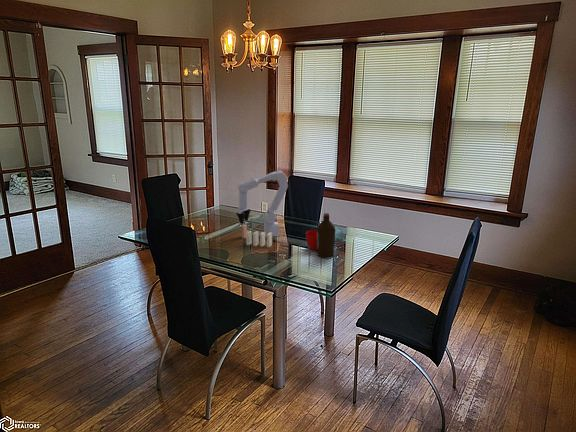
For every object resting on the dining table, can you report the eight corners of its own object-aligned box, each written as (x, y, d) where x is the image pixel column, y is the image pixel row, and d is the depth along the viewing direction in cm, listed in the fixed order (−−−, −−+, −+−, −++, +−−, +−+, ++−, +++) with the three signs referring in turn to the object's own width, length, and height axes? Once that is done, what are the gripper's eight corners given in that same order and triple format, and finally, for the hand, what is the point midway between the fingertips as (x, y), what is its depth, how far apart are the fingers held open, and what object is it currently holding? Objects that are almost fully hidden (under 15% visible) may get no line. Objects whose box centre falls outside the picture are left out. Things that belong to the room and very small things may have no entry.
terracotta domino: (247, 236, 272) (246, 224, 270) (244, 238, 268) (243, 226, 266) (244, 235, 273) (244, 224, 271) (241, 237, 268) (241, 226, 266)
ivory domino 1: (251, 242, 258) (251, 230, 256) (248, 245, 254) (248, 233, 252) (249, 242, 259) (249, 230, 257) (246, 245, 254) (246, 232, 252)
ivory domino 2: (258, 243, 257) (258, 231, 255) (255, 246, 252) (255, 233, 250) (256, 243, 257) (255, 231, 255) (253, 245, 253) (253, 233, 251)
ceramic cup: (321, 242, 258) (321, 227, 256) (329, 251, 242) (330, 235, 240) (301, 244, 256) (301, 229, 253) (308, 253, 240) (309, 237, 237)
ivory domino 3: (265, 244, 256) (265, 232, 254) (262, 246, 251) (262, 234, 249) (262, 243, 256) (262, 231, 254) (260, 246, 252) (259, 234, 249)
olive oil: (335, 253, 239) (337, 212, 233) (333, 259, 230) (334, 216, 223) (318, 251, 242) (319, 210, 236) (314, 257, 232) (315, 215, 226)
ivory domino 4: (272, 244, 254) (271, 232, 252) (269, 247, 250) (269, 234, 248) (269, 244, 255) (269, 232, 253) (266, 247, 250) (266, 234, 248)
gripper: (242, 199, 272) (242, 218, 275) (233, 203, 258) (233, 224, 262) (252, 199, 270) (252, 219, 273) (243, 204, 257) (244, 225, 260)
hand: (244, 221), depth 268 cm, fingers open, 7 cm apart
